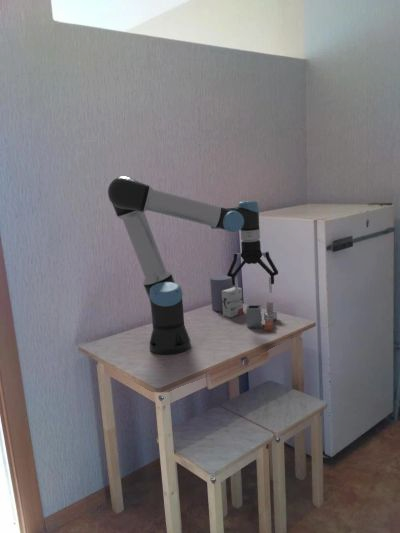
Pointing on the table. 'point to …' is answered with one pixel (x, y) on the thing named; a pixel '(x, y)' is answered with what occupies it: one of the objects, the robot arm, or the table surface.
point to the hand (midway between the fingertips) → (253, 292)
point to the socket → (254, 316)
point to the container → (219, 290)
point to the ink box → (232, 302)
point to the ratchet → (269, 317)
